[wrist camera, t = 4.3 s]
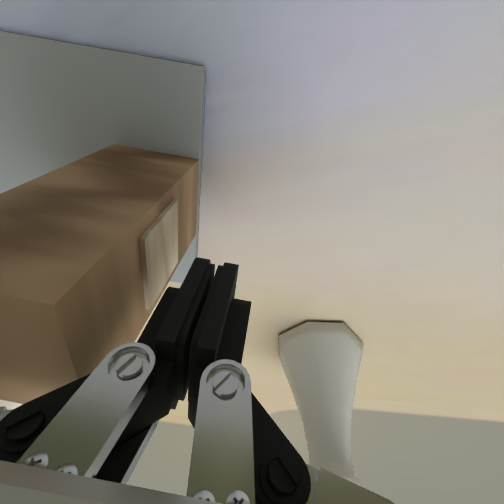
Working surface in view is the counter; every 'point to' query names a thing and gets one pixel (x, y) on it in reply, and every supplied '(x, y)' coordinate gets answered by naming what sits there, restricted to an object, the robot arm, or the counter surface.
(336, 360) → the flask
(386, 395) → the counter surface
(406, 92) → the counter surface
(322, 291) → the counter surface
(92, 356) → the cardboard box
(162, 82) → the mat
